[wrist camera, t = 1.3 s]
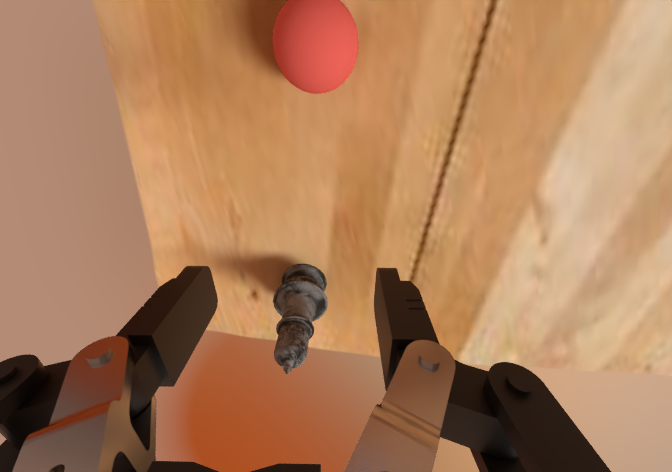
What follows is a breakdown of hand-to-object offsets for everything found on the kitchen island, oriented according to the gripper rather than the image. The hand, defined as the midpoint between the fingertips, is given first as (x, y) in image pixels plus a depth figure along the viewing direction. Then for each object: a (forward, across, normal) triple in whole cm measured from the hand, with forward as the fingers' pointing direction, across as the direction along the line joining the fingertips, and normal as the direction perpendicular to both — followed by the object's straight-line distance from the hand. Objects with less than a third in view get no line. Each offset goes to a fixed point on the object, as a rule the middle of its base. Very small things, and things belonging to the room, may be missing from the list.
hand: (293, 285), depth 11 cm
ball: (+15, 0, -10) cm, 18 cm away
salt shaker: (+18, +2, +14) cm, 23 cm away
